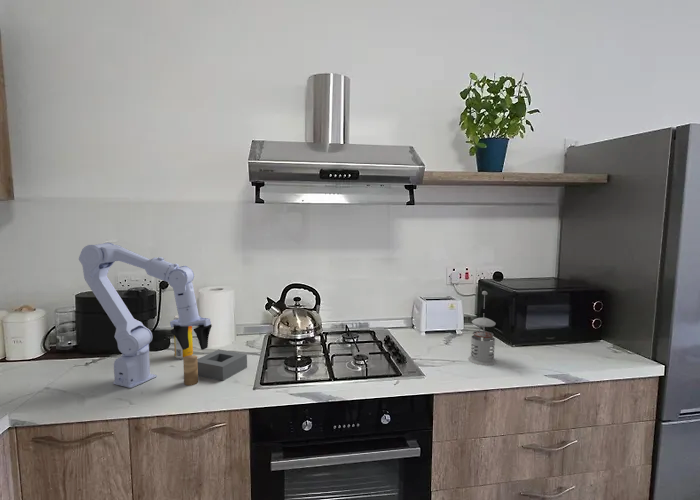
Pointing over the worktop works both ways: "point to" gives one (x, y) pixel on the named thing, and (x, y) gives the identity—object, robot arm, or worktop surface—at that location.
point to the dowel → (190, 370)
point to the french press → (482, 342)
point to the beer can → (178, 349)
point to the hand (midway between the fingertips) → (195, 348)
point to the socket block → (221, 364)
